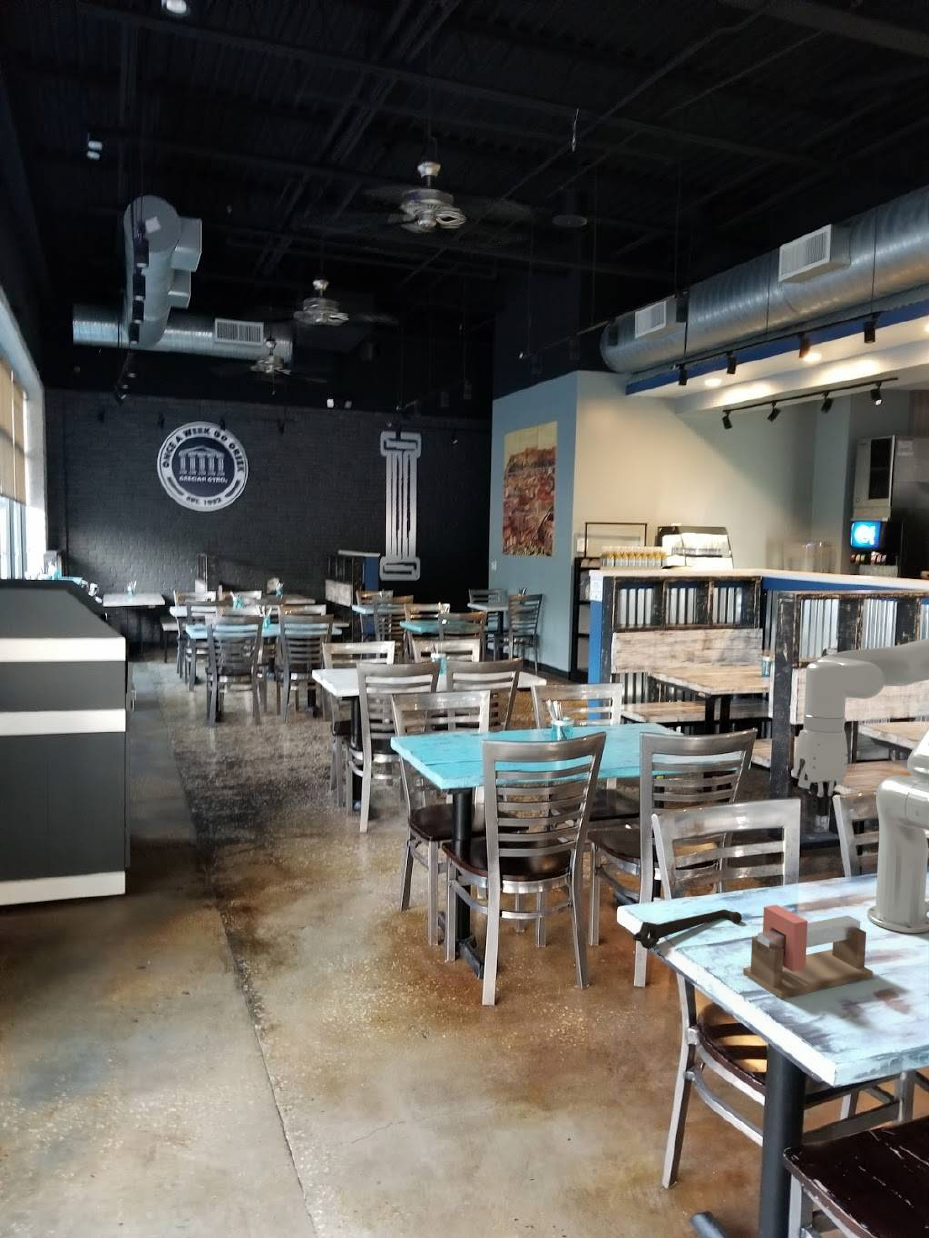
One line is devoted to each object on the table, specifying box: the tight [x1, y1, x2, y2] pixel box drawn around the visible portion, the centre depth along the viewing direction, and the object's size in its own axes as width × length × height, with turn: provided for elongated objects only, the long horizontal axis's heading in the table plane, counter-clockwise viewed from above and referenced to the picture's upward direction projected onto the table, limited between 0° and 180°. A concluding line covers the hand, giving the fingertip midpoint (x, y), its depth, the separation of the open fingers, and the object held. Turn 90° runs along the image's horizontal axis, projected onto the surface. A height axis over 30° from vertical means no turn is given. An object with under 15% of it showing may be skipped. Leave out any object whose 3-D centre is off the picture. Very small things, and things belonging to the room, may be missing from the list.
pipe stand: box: [742, 928, 874, 1000], centre depth 170 cm, size 22×10×8 cm, turn 113°
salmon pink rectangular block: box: [762, 904, 809, 972], centre depth 168 cm, size 3×8×9 cm, turn 23°
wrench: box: [632, 909, 743, 950], centre depth 188 cm, size 5×5×30 cm
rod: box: [757, 915, 861, 953], centre depth 170 cm, size 22×3×3 cm, turn 113°
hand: (819, 814), depth 182 cm, fingers closed
